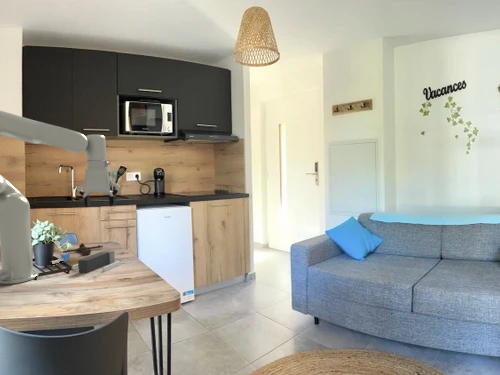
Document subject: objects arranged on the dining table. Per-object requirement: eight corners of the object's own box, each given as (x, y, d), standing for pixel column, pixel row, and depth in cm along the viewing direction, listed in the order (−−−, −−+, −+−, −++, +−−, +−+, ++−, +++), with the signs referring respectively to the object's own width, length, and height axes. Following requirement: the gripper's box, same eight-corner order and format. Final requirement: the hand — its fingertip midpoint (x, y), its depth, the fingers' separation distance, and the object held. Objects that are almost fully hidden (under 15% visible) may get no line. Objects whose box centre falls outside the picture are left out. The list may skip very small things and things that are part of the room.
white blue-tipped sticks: (104, 271, 135) (104, 264, 135) (43, 267, 142) (43, 260, 142) (124, 262, 147) (123, 255, 147) (66, 259, 154) (66, 253, 154)
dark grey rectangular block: (88, 273, 133) (87, 260, 133) (77, 272, 134) (77, 260, 134) (114, 262, 149) (114, 250, 148) (104, 261, 150) (104, 250, 150)
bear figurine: (65, 252, 156) (61, 244, 168) (65, 261, 157) (61, 252, 169) (107, 246, 167) (100, 239, 178) (107, 255, 167) (100, 247, 179)
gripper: (121, 164, 146) (123, 204, 147) (79, 165, 145) (82, 206, 146) (115, 164, 139) (118, 206, 140) (71, 165, 138) (74, 208, 139)
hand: (99, 206), depth 143 cm, fingers open, 9 cm apart
